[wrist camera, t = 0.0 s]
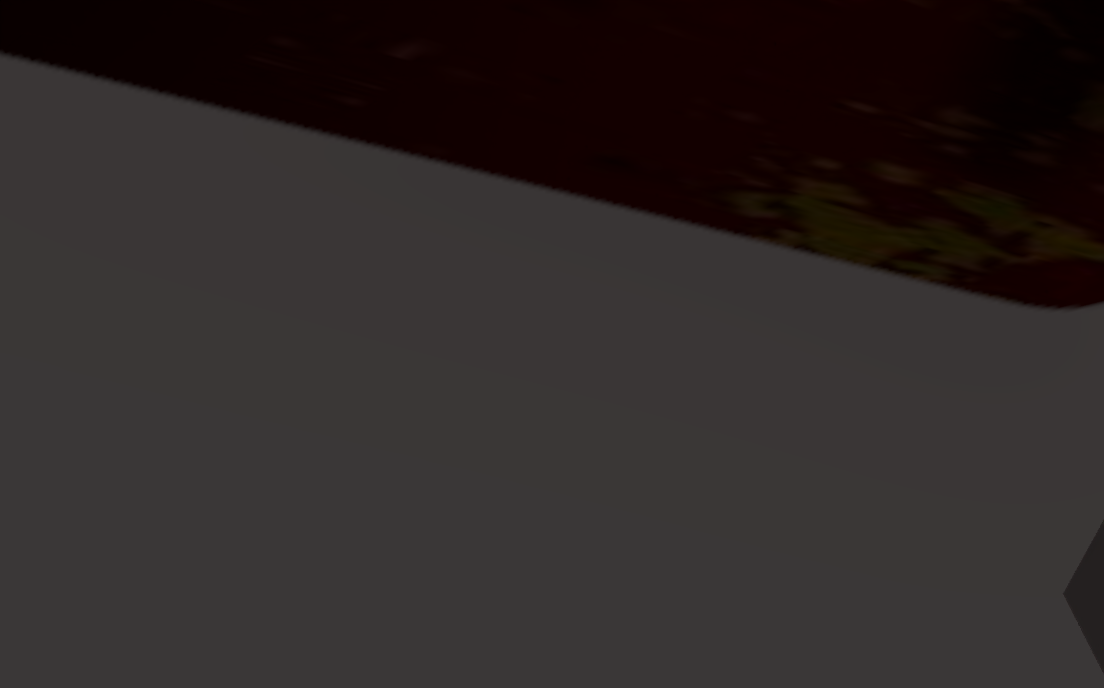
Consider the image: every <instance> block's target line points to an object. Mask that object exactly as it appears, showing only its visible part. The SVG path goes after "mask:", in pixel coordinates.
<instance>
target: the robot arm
mask: <svg viewBox="0 0 1104 688" xmlns="http://www.w3.org/2000/svg"><path fill="white" fill-rule="evenodd" d="M1063 594H1064V596H1065V598H1066V600H1067V602H1068V604H1069V606H1070V608H1071V610H1072V612H1073V614H1074V616H1075V618H1076V620H1077V622H1078V624H1079V626H1080V628H1081V630H1082V632H1083V634H1084V636H1085V638H1086V640H1087V642H1088V644H1089V646H1090V648H1091V649H1092V651H1093V654H1094V656H1095V657H1096V660H1097V662H1098V663H1099V665H1100V667H1101V669H1102V671H1103V673H1104V521H1103V522H1102V524H1101V526H1100V528H1099V530H1098V532H1097V533H1096V536H1095V537H1094V539H1093V541H1092V543H1091V544H1090V546H1089V548H1088V550H1087V551H1086V554H1085V555H1084V557H1083V559H1082V561H1081V563H1080V564H1079V566H1078V568H1077V570H1076V571H1075V573H1074V575H1073V577H1072V579H1071V581H1070V583H1069V584H1068V586H1067V588H1066V590H1065V592H1064V593H1063Z"/></svg>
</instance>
